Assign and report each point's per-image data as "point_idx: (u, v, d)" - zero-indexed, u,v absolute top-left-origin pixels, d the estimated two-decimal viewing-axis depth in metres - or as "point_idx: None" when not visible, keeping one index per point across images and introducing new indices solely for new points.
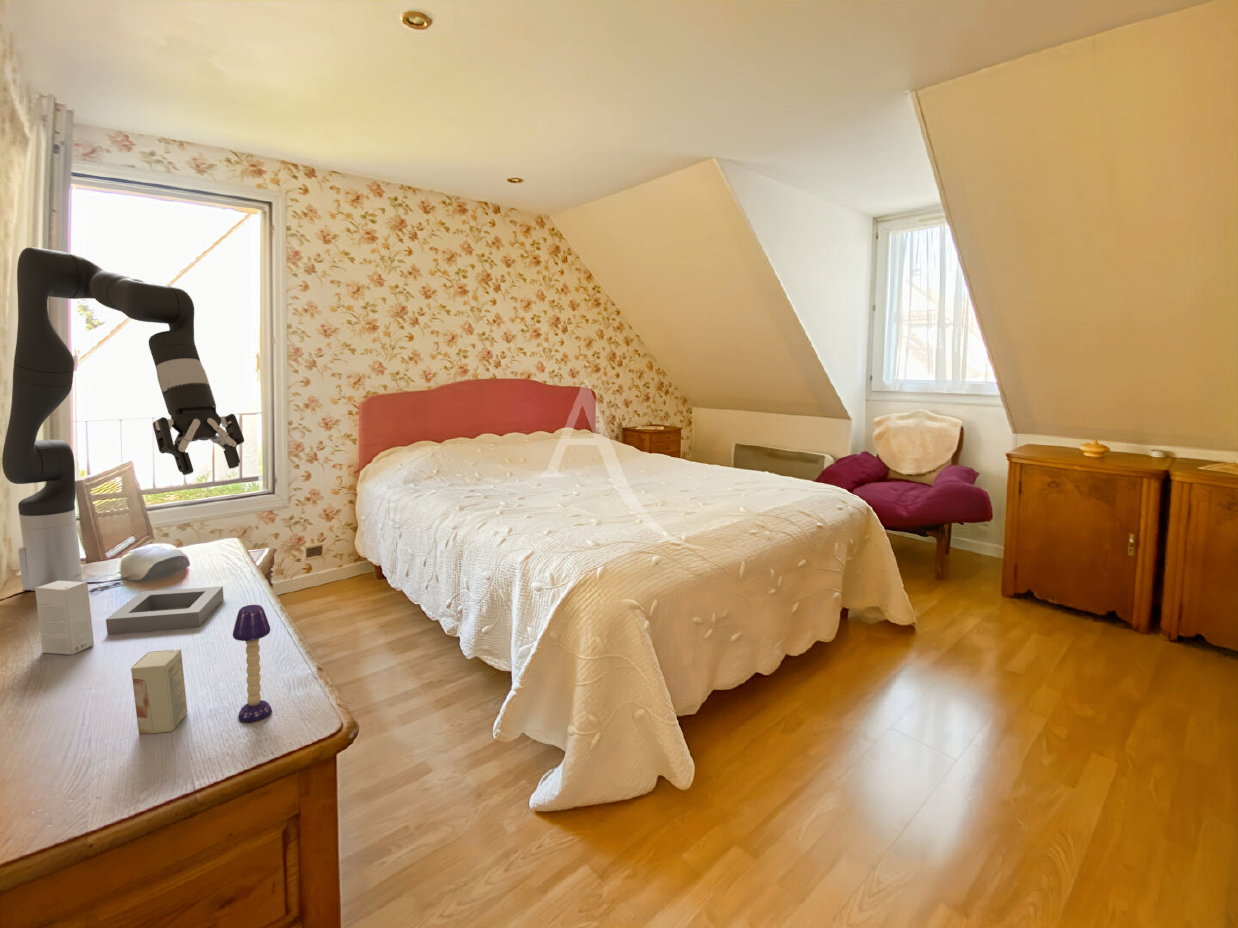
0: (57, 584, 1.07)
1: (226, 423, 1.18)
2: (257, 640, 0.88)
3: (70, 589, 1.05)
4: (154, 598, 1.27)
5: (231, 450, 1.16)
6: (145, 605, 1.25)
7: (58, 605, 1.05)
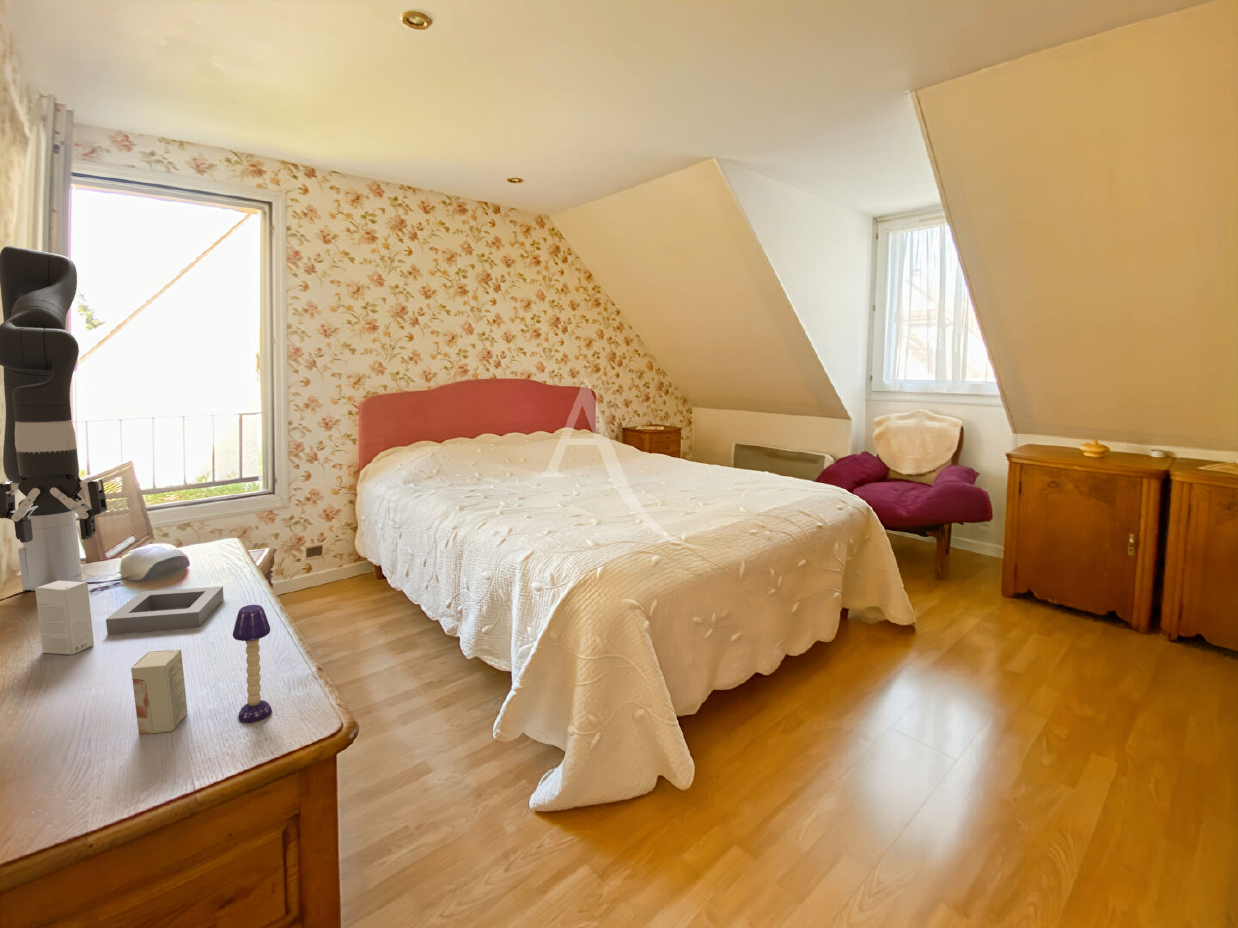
0: (57, 584, 1.07)
1: None
2: (257, 640, 0.88)
3: (70, 589, 1.05)
4: (154, 598, 1.27)
5: (80, 522, 1.05)
6: (145, 605, 1.25)
7: (58, 605, 1.05)
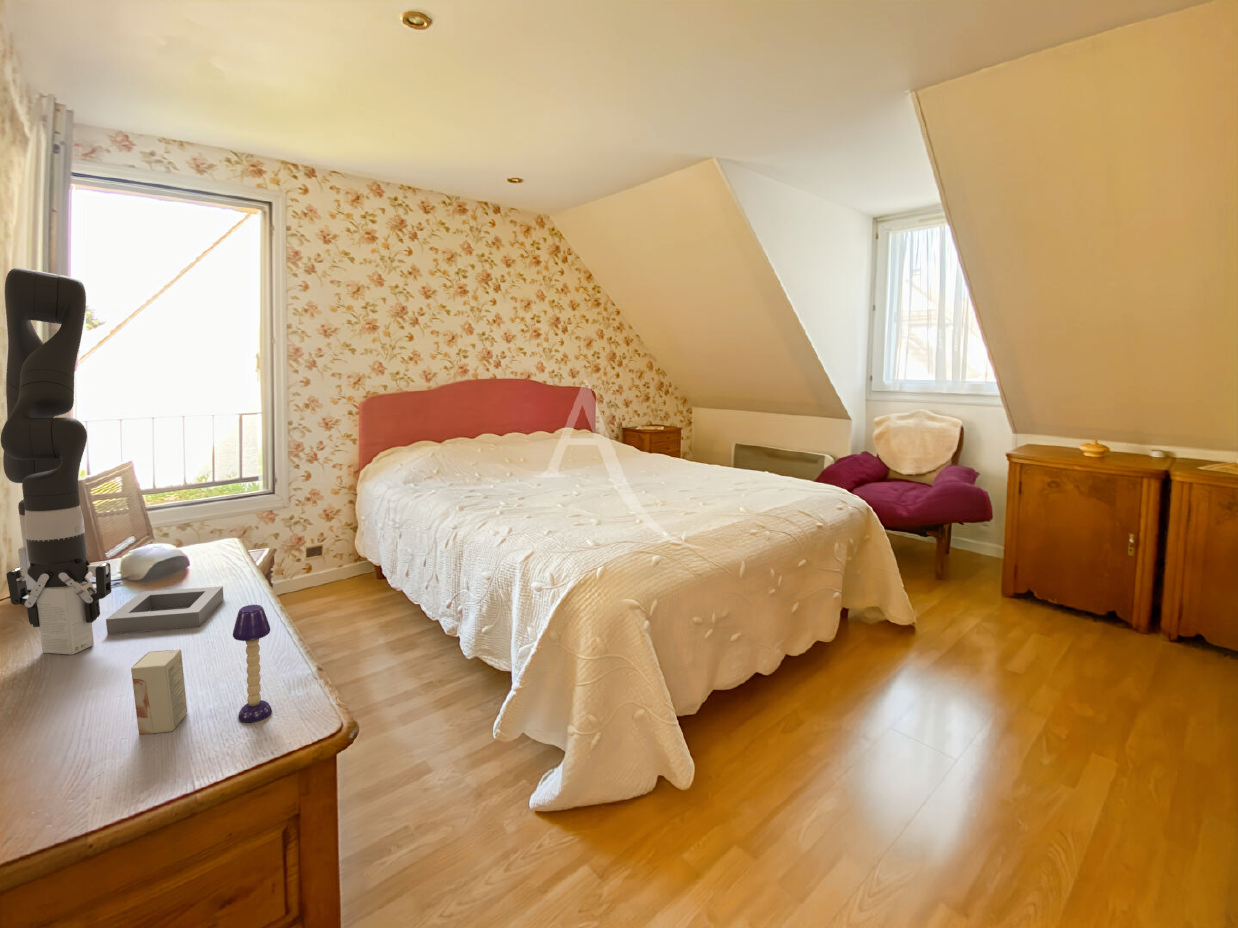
0: None
1: (93, 574, 1.07)
2: (257, 640, 0.88)
3: (70, 589, 1.05)
4: (154, 598, 1.27)
5: (85, 606, 1.07)
6: (145, 605, 1.25)
7: (58, 605, 1.05)
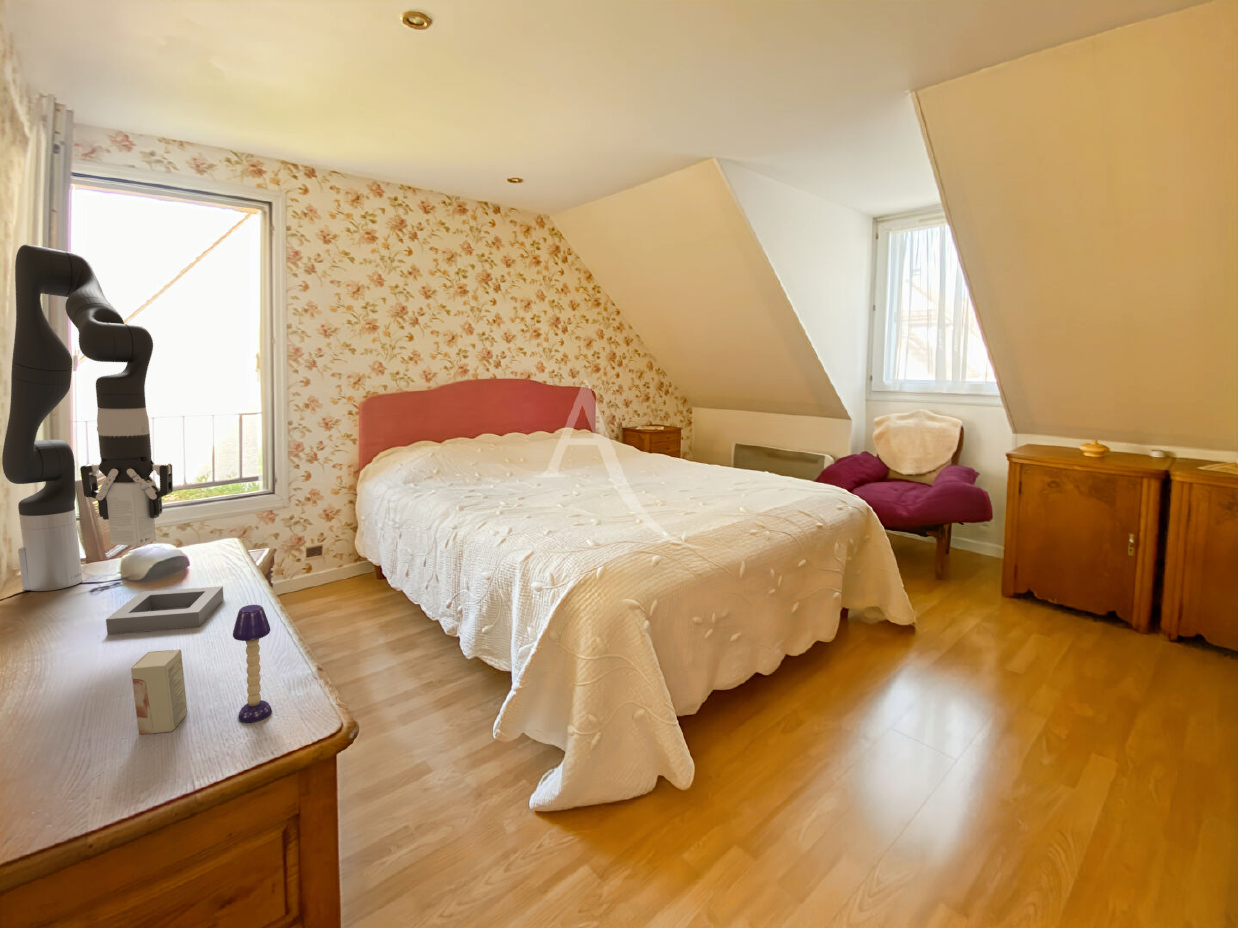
0: None
1: None
2: (257, 640, 0.88)
3: (136, 484, 1.14)
4: (154, 598, 1.27)
5: (149, 502, 1.16)
6: (145, 605, 1.25)
7: (125, 499, 1.13)
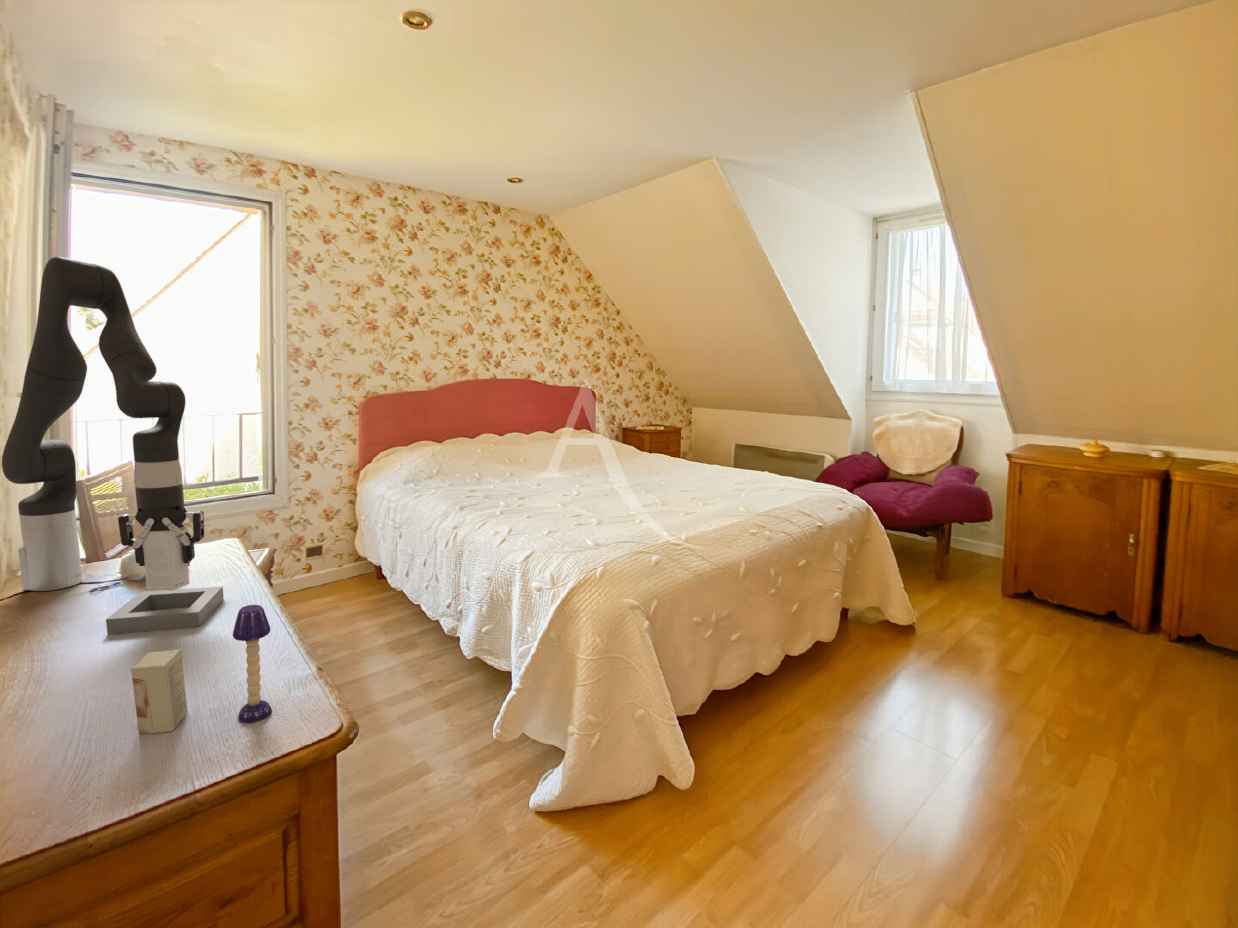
0: None
1: (190, 520, 1.22)
2: (257, 640, 0.88)
3: (172, 532, 1.20)
4: (154, 598, 1.27)
5: (183, 548, 1.22)
6: (145, 605, 1.25)
7: (161, 546, 1.20)
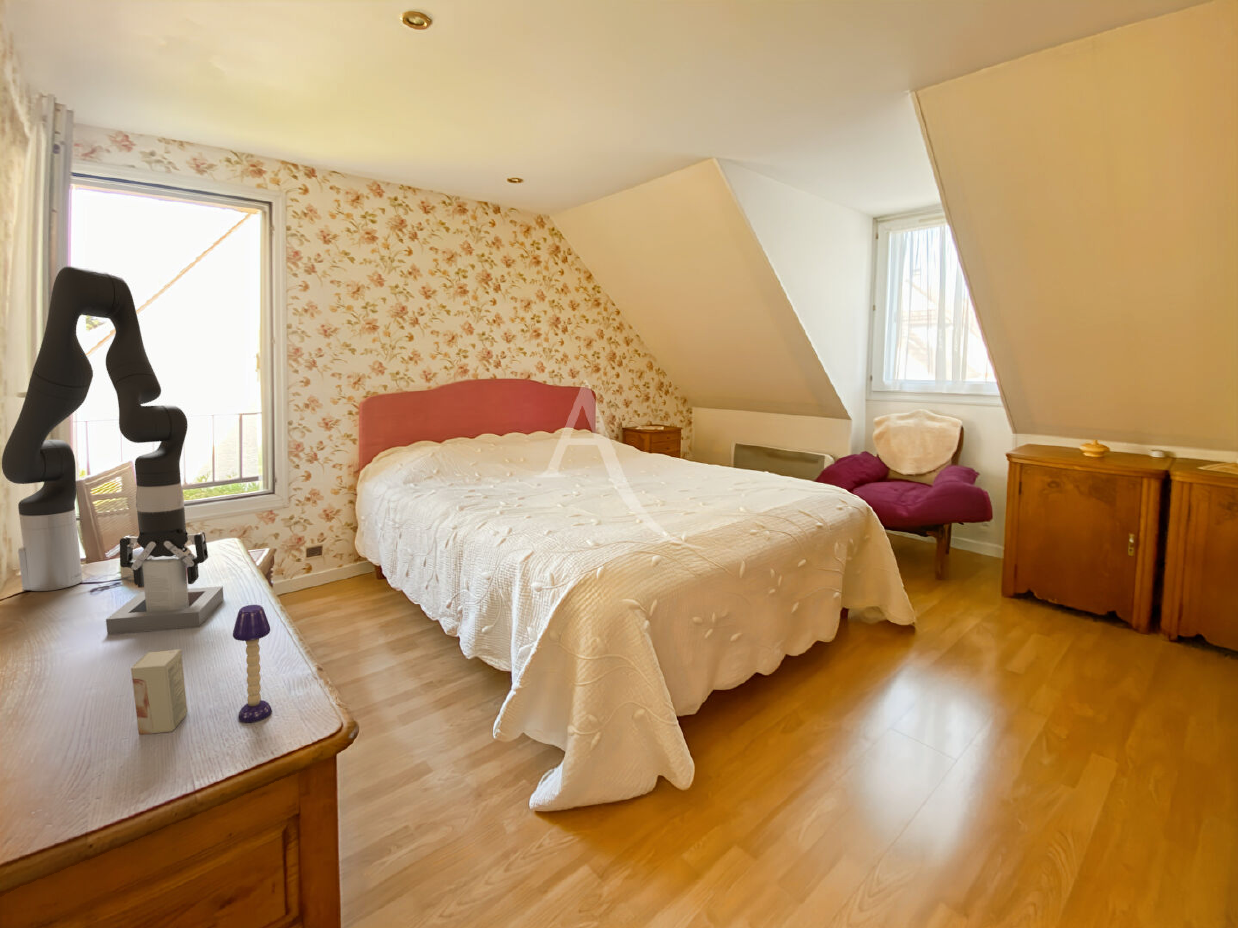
0: (159, 558, 1.22)
1: (192, 542, 1.23)
2: (257, 640, 0.88)
3: (172, 562, 1.21)
4: None
5: (187, 569, 1.23)
6: (145, 605, 1.25)
7: (162, 576, 1.20)
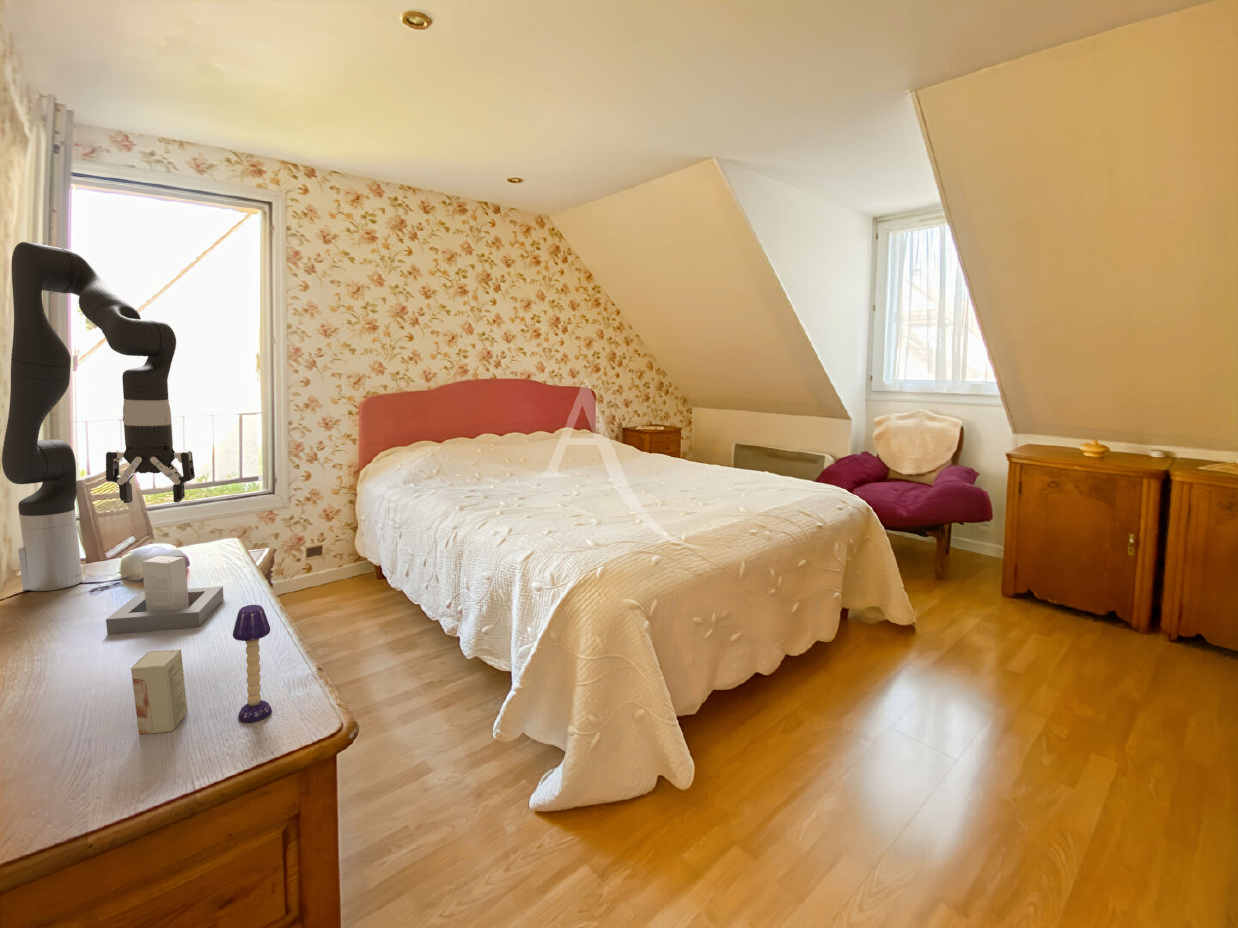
0: (160, 558, 1.22)
1: (179, 460, 1.23)
2: (257, 640, 0.88)
3: (172, 562, 1.21)
4: None
5: (173, 487, 1.23)
6: (145, 605, 1.25)
7: (162, 576, 1.20)
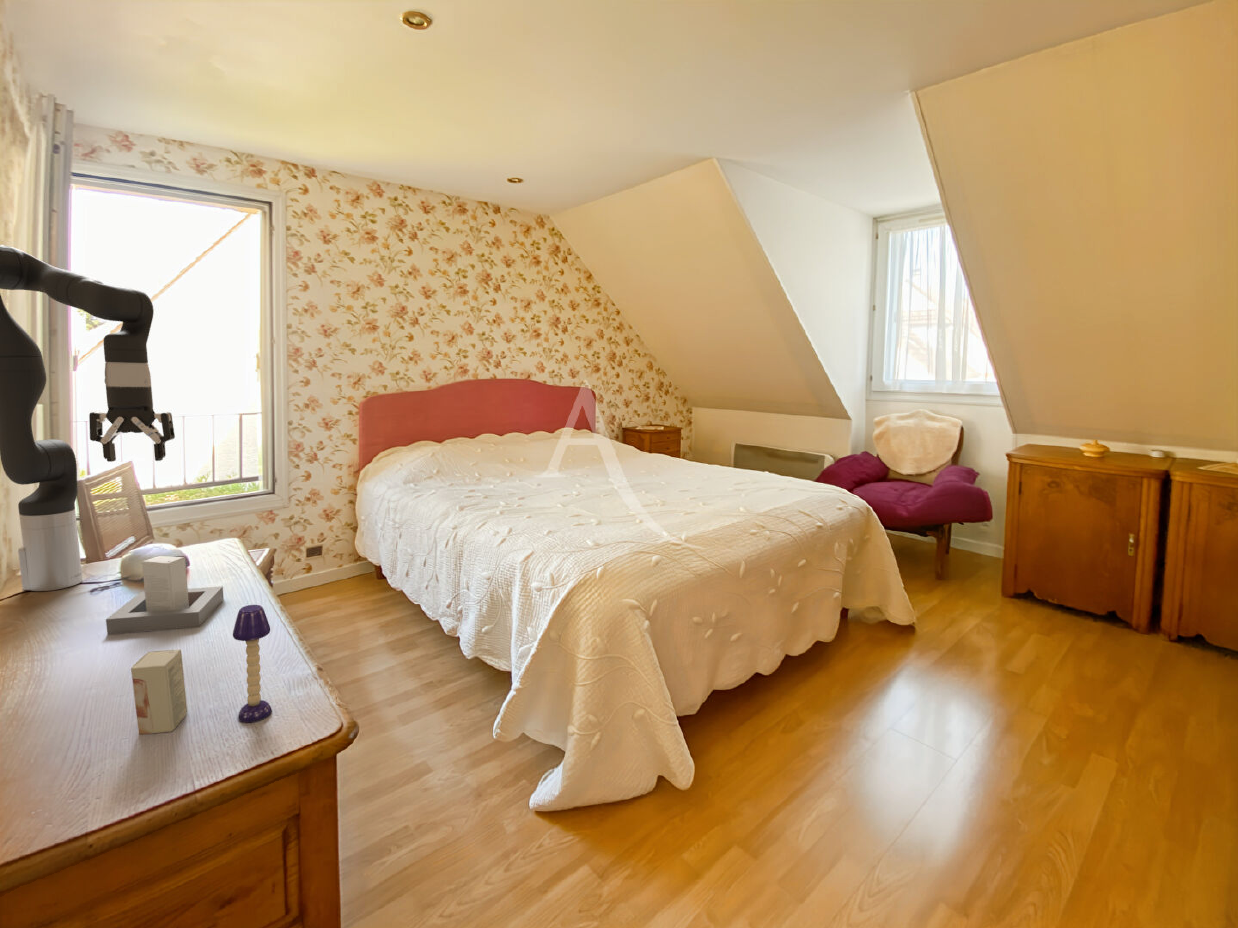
0: (160, 558, 1.22)
1: (159, 420, 1.30)
2: (257, 640, 0.88)
3: (172, 562, 1.21)
4: None
5: (154, 446, 1.30)
6: (145, 605, 1.25)
7: (162, 576, 1.20)
